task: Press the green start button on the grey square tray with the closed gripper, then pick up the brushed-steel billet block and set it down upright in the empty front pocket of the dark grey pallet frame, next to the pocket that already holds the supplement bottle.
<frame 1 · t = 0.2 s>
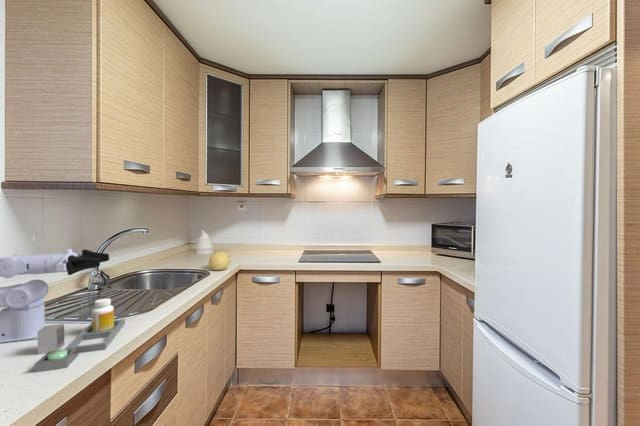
hand: (104, 259, 93), 21 cm above the worktop, tool horizontal, fingers open, 7 cm apart
billet: (51, 349, 79), on the worktop
pallet frame: (98, 337, 86), on the worktop
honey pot: (204, 253, 239), on the worktop
supplement bottle: (103, 332, 90), resting in pallet frame
yellow round fruit: (219, 269, 177), on the worktop
start button: (57, 357, 72), point 2 cm above the worktop, slide at 1.2 cm
grey square tray: (57, 363, 72), on the worktop
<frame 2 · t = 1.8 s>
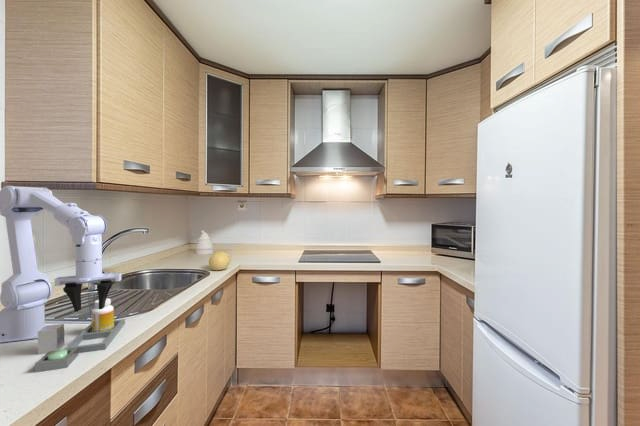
hand: (89, 309, 81), 10 cm above the worktop, tool pointing down, fingers open, 5 cm apart
nothing on the worktop moved.
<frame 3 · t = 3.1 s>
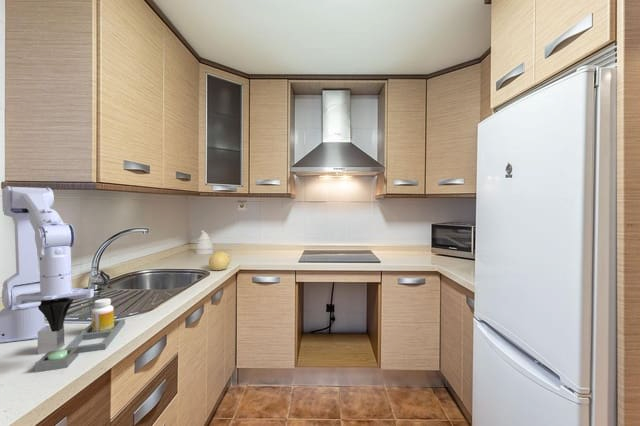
hand: (57, 329, 72), 8 cm above the worktop, tool pointing down, fingers closed
nothing on the worktop moved.
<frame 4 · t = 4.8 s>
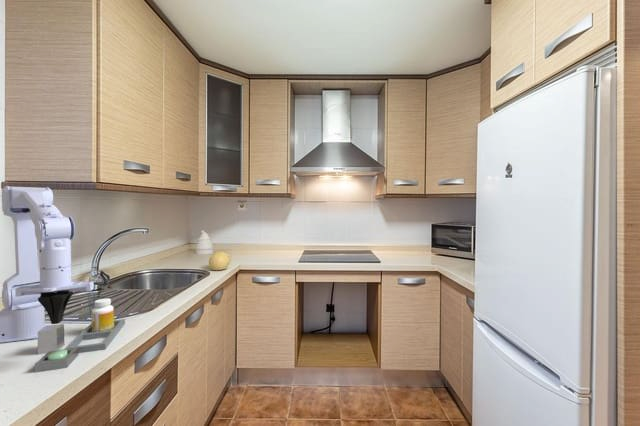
hand: (56, 322, 72), 10 cm above the worktop, tool pointing down, fingers closed
nothing on the worktop moved.
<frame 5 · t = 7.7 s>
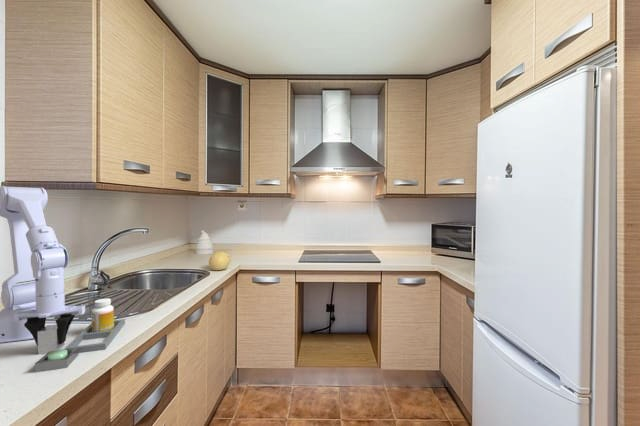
hand: (51, 343, 79), 2 cm above the worktop, tool pointing down, fingers closed on billet, 4 cm apart
billet: (51, 349, 79), on the worktop, touching gripper
everything else where it was.
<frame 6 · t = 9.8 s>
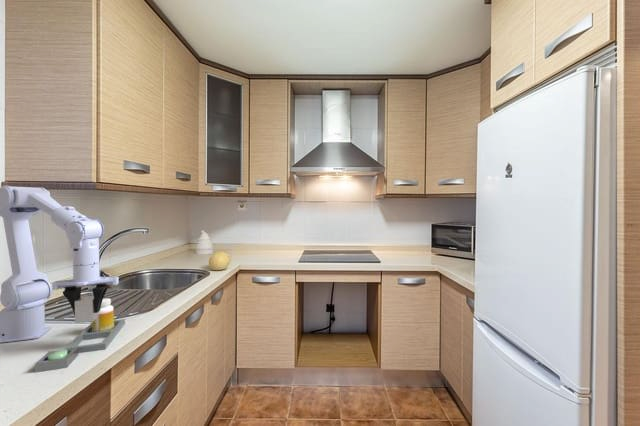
hand: (87, 312, 81), 9 cm above the worktop, tool pointing down, fingers closed on billet, 4 cm apart
billet: (87, 319, 81), point 7 cm above the worktop, touching gripper
everything else where it was.
when the fingers open (3 cm above the worktop, at t = 11.8 s): billet stays where it is, resting in pallet frame.
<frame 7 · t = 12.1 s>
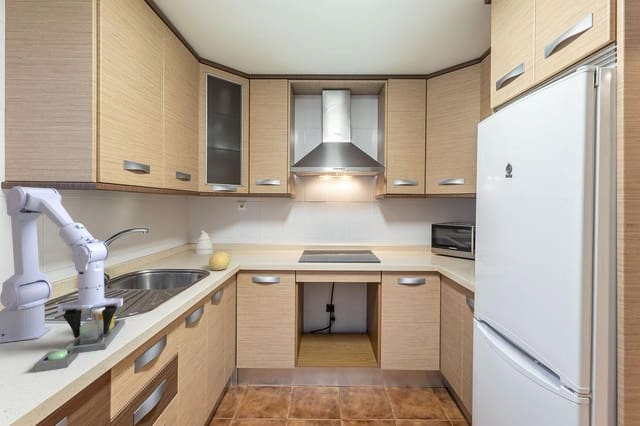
hand: (92, 334, 82), 3 cm above the worktop, tool pointing down, fingers open, 6 cm apart
billet: (92, 344, 82), resting in pallet frame
everything else where it was.
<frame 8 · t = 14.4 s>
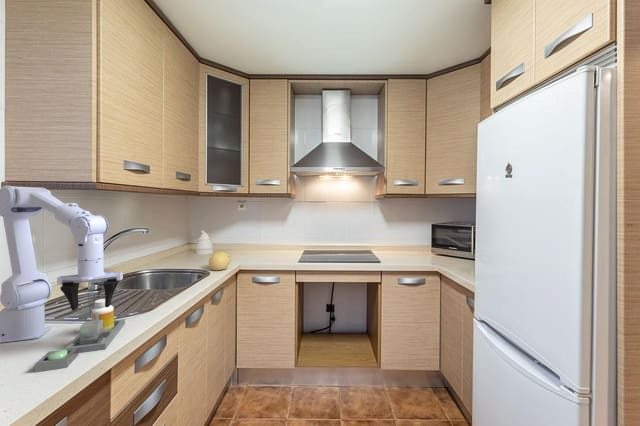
hand: (91, 307, 82), 10 cm above the worktop, tool pointing down, fingers open, 7 cm apart
nothing on the worktop moved.
at the end: billet 0.1 cm from the target spot on the pallet frame, point 0.0 cm above the pallet frame's base; billet tilted 0°; the gripper is holding nothing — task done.
